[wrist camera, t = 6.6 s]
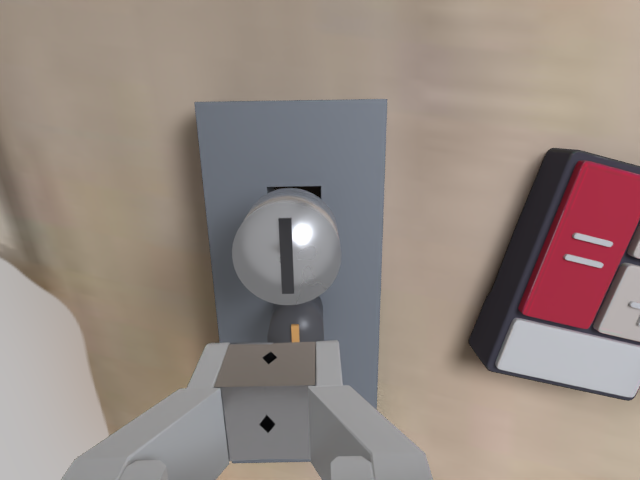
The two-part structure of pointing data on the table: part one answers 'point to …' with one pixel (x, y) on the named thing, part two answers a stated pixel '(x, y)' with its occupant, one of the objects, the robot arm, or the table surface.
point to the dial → (297, 323)
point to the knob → (287, 247)
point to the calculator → (570, 281)
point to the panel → (336, 191)
